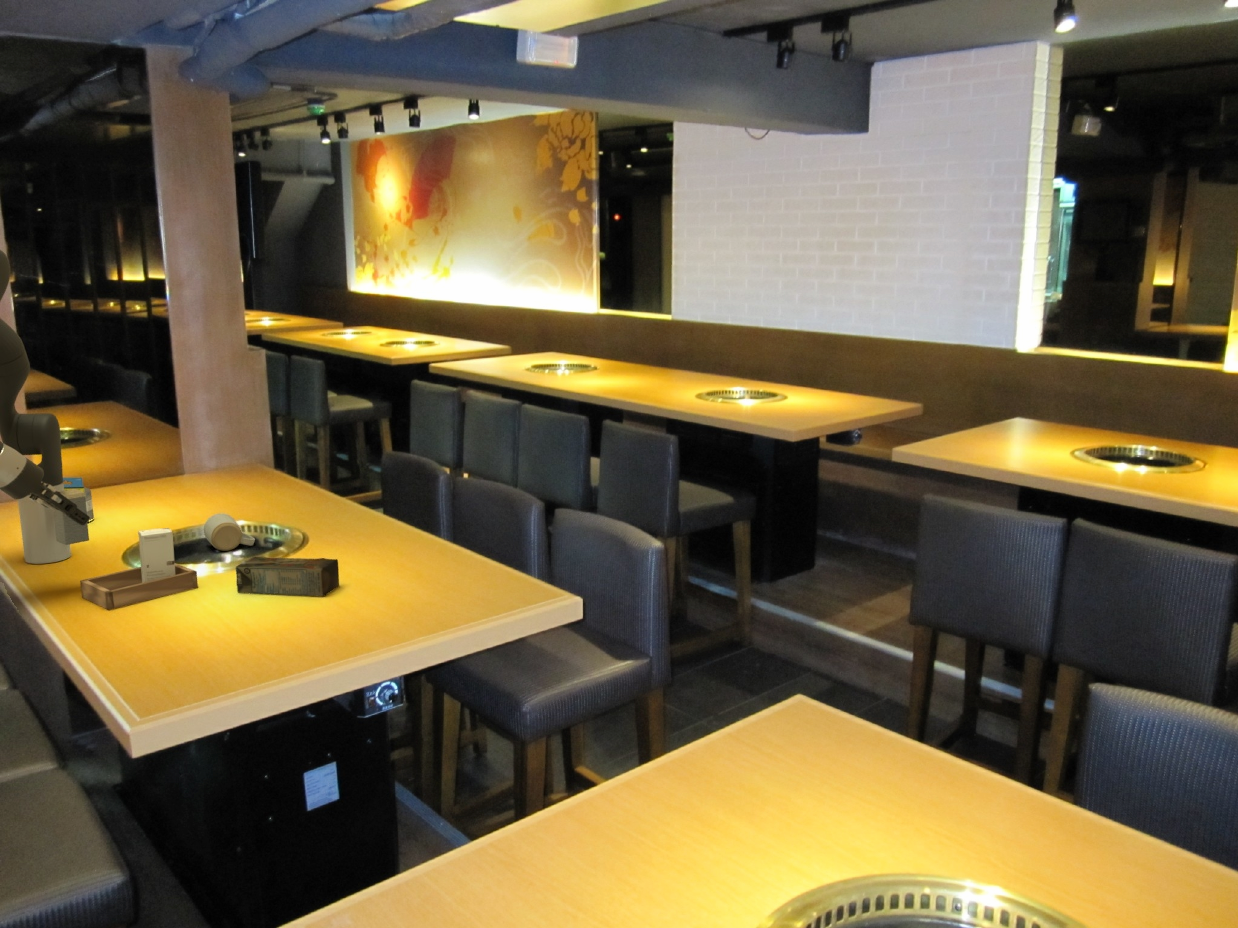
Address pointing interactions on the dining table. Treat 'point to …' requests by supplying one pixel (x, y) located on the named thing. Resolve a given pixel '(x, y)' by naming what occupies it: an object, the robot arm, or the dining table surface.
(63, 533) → the tea tin
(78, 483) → the label tape cartridge
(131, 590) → the crate
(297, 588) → the beverage carton
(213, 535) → the ceramic mug
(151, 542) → the skincare box
